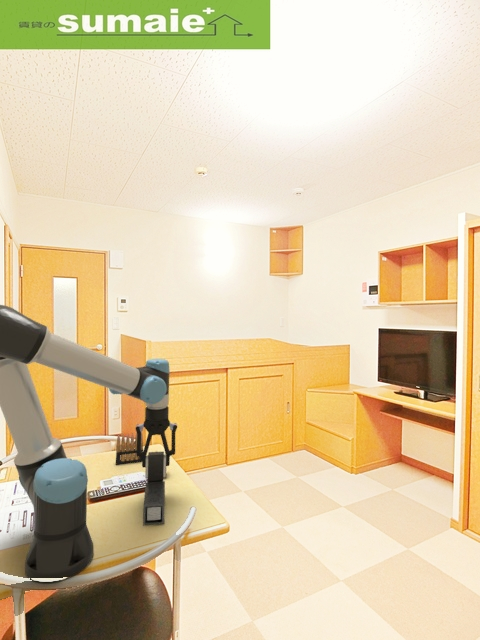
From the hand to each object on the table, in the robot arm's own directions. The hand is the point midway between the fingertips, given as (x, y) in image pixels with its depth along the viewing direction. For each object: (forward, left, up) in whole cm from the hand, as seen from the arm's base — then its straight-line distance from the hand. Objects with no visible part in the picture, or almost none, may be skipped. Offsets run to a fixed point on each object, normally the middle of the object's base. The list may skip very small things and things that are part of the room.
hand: (155, 475), depth 122 cm
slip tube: (-4, 0, -6) cm, 8 cm away
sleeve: (-9, 0, -7) cm, 11 cm away
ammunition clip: (+29, +11, -8) cm, 32 cm away
